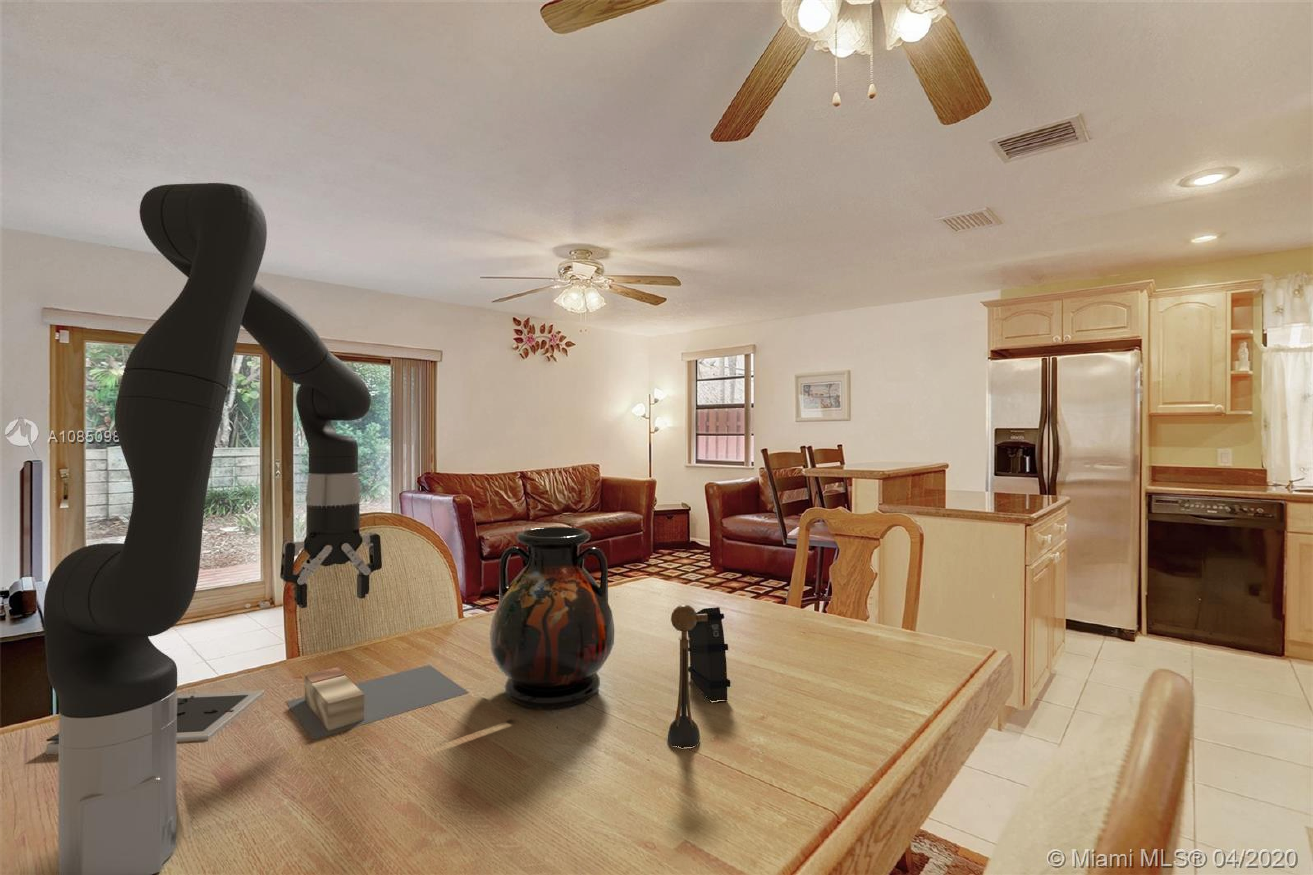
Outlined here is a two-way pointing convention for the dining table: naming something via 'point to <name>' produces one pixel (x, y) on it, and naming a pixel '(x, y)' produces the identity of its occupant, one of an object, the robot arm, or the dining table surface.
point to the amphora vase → (552, 620)
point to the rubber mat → (386, 698)
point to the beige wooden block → (334, 698)
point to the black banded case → (709, 655)
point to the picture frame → (199, 714)
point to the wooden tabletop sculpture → (684, 681)
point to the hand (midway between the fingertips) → (333, 602)
